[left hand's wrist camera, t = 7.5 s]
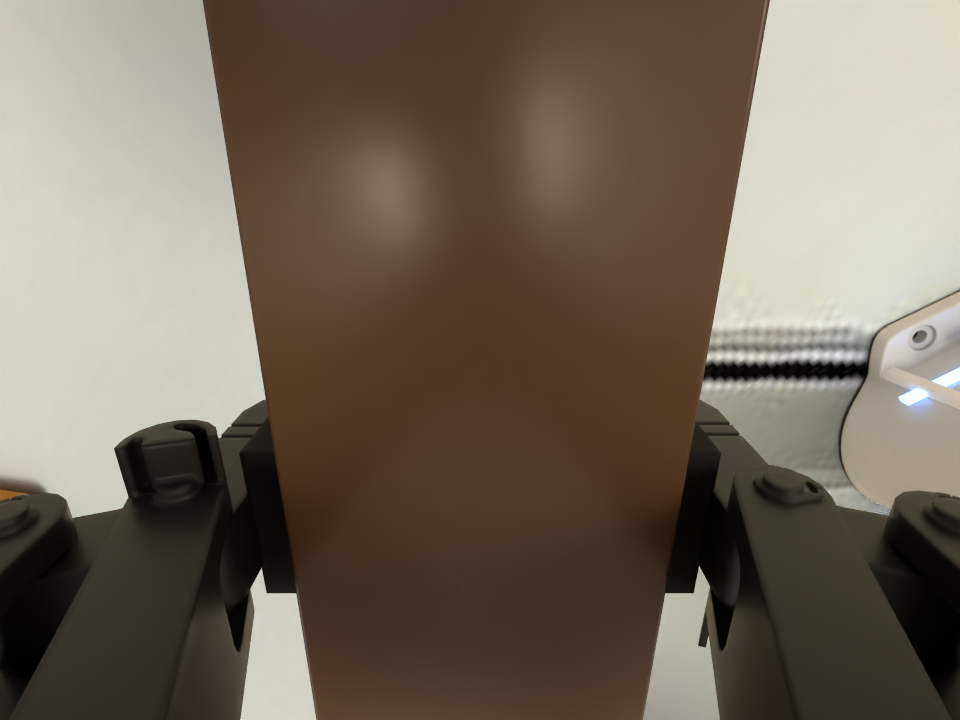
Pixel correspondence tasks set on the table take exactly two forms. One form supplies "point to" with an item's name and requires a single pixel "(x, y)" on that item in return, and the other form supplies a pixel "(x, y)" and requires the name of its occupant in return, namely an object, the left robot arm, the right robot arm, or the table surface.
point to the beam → (483, 327)
